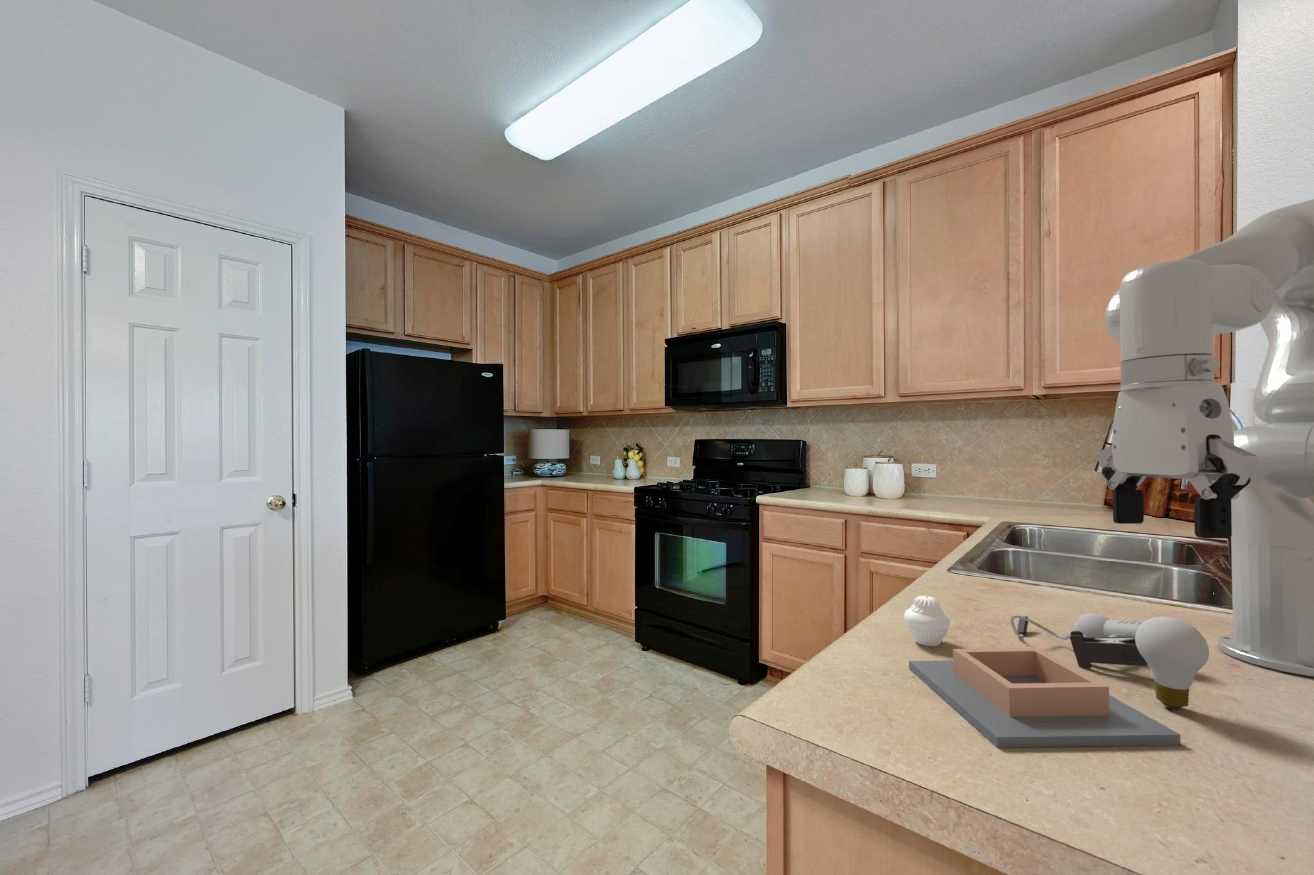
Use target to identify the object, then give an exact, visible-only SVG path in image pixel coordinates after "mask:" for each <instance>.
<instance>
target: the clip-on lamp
mask: <svg viewBox="0 0 1314 875" xmlns="http://www.w3.org/2000/svg"><path fill="white" fill-rule="evenodd" d="M1028 617H1029V615H1027V614H1024V615H1012V616H1011V618H1010V624H1011V627H1012V631H1013V632H1014V634H1015V635H1016V636H1017V637H1018V638H1023V637H1024V636H1025V637H1026V636H1027V632H1028V625H1029V623H1030V624H1032V625H1033V626H1036V627H1038V628H1039V629H1041V630H1043V631H1045V632H1046V633H1048V634H1050V635H1052V636H1054V637H1055V638H1057V639H1059V640H1063V641H1068V640H1070V643H1071V646H1072V649H1073V652H1074V656H1075V658H1076V662H1077V664H1078V667H1079V668H1081V669H1086V670H1091V668H1092V664H1101V665H1102V664H1104V665H1118V666H1133V667H1134V666H1135V667H1146V666H1147V665H1148V664H1147V662H1146V661H1145V659H1144V658H1143V656H1142V655H1141V654H1140V652H1139V650H1138V648H1137V646H1136V642H1135V635H1136V631H1137V629H1138V627H1139V626H1140V625H1141V624H1142V623H1143V622H1144V621H1131V620H1119V619H1117V620H1116V619H1115V620H1114V619H1109V617H1106V616H1104V615H1102V614H1099V613H1096V612H1089V613H1083V614H1080V616H1078V618H1077V621H1075V623H1074V624H1073V626H1072V631H1070V633H1069V634H1067V635H1064V636H1063V635H1060V634H1058V633H1056V632H1054V631H1052V630H1050V629H1049V628H1047V627H1045V626H1043V625H1042V624H1040V623H1038V622H1036V621H1034V620H1032V619H1031V618H1028ZM1015 619H1018V625H1017V628H1016V624H1015V621H1014V620H1015Z"/></svg>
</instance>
